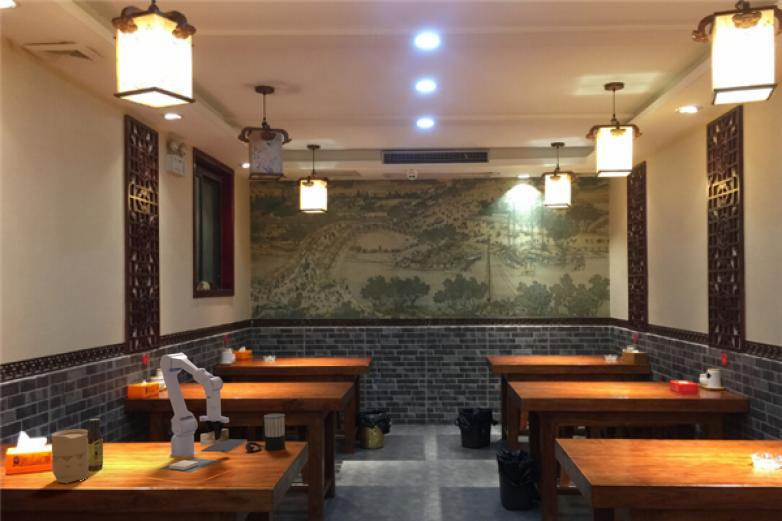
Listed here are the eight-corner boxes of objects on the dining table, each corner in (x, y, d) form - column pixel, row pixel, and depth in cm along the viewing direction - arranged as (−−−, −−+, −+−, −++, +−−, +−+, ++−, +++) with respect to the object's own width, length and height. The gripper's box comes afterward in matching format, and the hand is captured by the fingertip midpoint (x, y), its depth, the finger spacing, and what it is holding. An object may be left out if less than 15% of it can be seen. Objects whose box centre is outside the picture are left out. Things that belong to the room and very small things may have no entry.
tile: (183, 460, 282) (169, 465, 275) (198, 461, 278) (184, 466, 271) (184, 463, 282) (169, 468, 275) (198, 465, 278) (184, 470, 271)
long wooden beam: (224, 439, 297) (224, 428, 297) (228, 439, 296) (228, 429, 296) (200, 445, 285) (200, 434, 285) (205, 445, 284) (205, 434, 284)
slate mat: (159, 470, 276) (159, 468, 276) (192, 459, 292) (192, 457, 292) (189, 474, 268) (189, 472, 268) (221, 462, 284) (221, 461, 284)
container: (95, 477, 269) (94, 430, 269) (65, 486, 258) (64, 437, 259) (75, 473, 275) (74, 428, 276) (45, 482, 264) (44, 434, 265)
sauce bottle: (97, 470, 278) (95, 421, 279) (83, 470, 280) (81, 421, 280) (106, 466, 285) (105, 417, 285) (93, 466, 286) (92, 417, 287)
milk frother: (290, 448, 305) (289, 414, 306) (264, 456, 292) (263, 420, 293) (267, 444, 314) (266, 411, 314) (241, 452, 301) (240, 418, 301)
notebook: (222, 442, 324) (201, 454, 303) (222, 439, 324) (201, 450, 303) (248, 442, 321) (228, 454, 300) (248, 439, 321) (228, 450, 300)
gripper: (193, 407, 291) (195, 440, 290) (220, 409, 284) (221, 442, 283) (205, 404, 297) (207, 436, 296) (231, 406, 290) (233, 438, 290)
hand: (214, 439), depth 290 cm, fingers closed on long wooden beam, 2 cm apart
